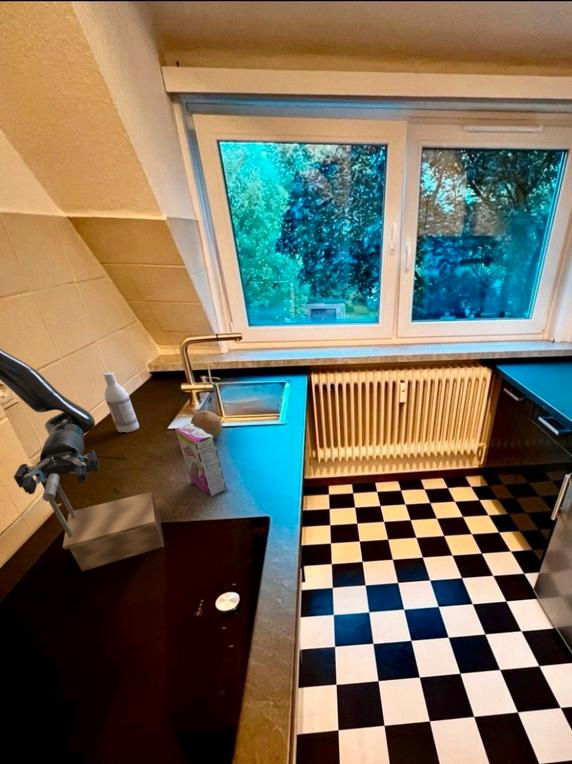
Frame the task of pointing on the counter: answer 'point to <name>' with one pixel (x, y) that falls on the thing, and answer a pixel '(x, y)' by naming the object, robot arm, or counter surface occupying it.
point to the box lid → (100, 516)
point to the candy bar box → (201, 459)
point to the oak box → (120, 545)
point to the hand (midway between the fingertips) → (55, 484)
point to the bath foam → (120, 405)
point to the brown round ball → (208, 422)
